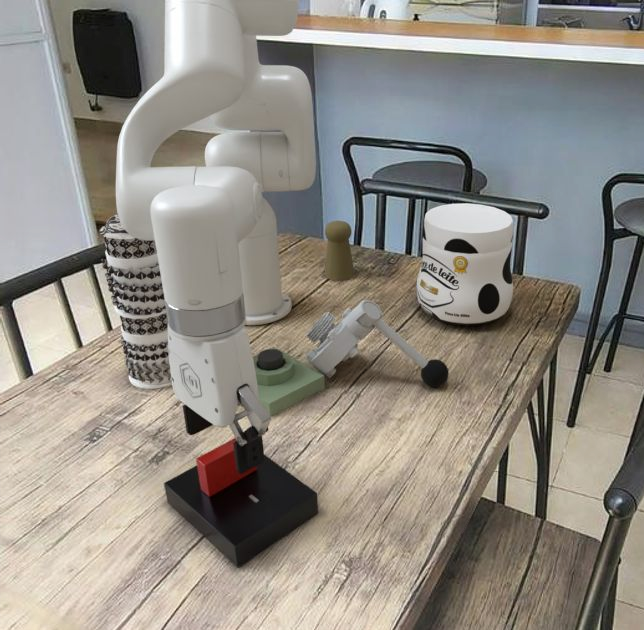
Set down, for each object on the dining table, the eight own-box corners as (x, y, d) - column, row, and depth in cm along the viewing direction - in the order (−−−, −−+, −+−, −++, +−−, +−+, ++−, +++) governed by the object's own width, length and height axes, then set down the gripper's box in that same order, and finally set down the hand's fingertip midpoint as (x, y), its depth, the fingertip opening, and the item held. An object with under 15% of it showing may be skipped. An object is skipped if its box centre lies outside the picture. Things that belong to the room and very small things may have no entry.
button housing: (221, 383, 102) (217, 360, 100) (275, 358, 108) (273, 336, 106) (270, 416, 95) (268, 392, 93) (325, 387, 101) (324, 365, 99)
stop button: (253, 365, 100) (252, 355, 99) (273, 356, 102) (272, 346, 101) (268, 374, 98) (267, 364, 97) (288, 365, 100) (287, 354, 99)
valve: (382, 443, 105) (445, 396, 97) (284, 360, 101) (341, 303, 93) (401, 402, 113) (461, 355, 105) (311, 324, 110) (365, 269, 102)
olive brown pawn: (343, 266, 141) (342, 215, 136) (360, 275, 137) (359, 224, 132) (318, 273, 138) (316, 221, 133) (335, 283, 134) (333, 230, 129)
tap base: (165, 501, 80) (161, 480, 78) (244, 457, 87) (242, 437, 85) (237, 568, 71) (234, 546, 70) (318, 512, 78) (317, 491, 77)
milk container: (402, 324, 119) (404, 227, 111) (432, 284, 134) (435, 196, 126) (499, 341, 115) (508, 241, 106) (518, 299, 129) (528, 208, 121)
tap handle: (209, 497, 76) (204, 464, 74) (200, 489, 77) (195, 456, 75) (257, 469, 80) (254, 437, 78) (248, 462, 81) (244, 430, 79)
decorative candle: (177, 392, 99) (150, 230, 88) (115, 388, 100) (79, 227, 88) (199, 359, 107) (176, 208, 96) (141, 356, 108) (112, 205, 96)
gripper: (128, 296, 71) (154, 430, 79) (223, 354, 61) (242, 501, 69) (192, 275, 76) (210, 403, 84) (290, 326, 66) (300, 466, 74)
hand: (224, 447), depth 76 cm, fingers open, 9 cm apart
